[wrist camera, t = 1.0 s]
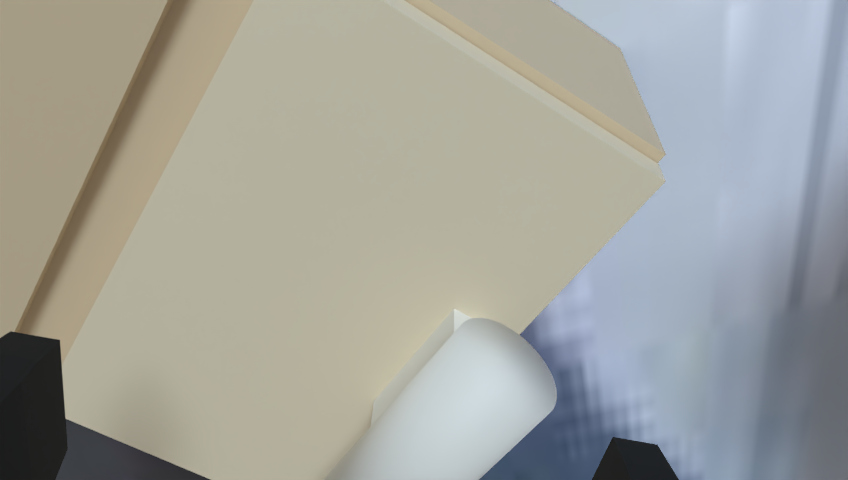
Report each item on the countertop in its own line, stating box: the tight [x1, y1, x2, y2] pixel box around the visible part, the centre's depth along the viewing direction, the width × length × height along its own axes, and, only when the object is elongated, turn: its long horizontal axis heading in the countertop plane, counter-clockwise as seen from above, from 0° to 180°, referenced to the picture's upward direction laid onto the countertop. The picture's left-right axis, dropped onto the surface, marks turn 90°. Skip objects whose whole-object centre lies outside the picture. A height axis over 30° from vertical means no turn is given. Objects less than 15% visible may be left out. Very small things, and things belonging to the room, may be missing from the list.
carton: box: [0, 0, 666, 364], centre depth 17 cm, size 15×12×6 cm
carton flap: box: [62, 0, 665, 480], centre depth 14 cm, size 7×12×4 cm, turn 147°
